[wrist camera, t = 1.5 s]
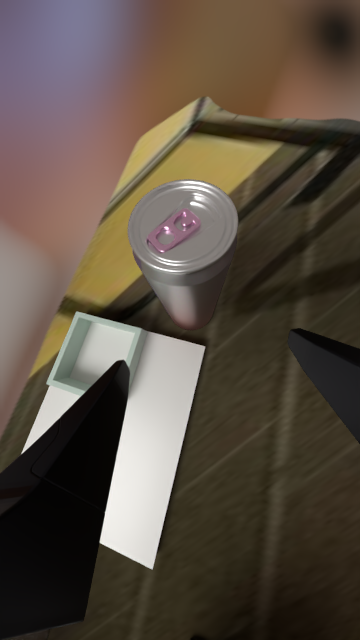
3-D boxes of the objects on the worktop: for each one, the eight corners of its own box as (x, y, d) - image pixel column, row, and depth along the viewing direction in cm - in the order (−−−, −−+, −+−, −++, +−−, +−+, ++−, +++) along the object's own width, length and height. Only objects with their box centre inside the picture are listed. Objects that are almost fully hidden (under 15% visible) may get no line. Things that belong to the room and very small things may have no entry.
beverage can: (161, 308, 23) (102, 221, 9) (193, 282, 24) (188, 158, 9) (188, 340, 22) (171, 300, 7) (222, 312, 22) (270, 221, 8)
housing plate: (155, 555, 17) (144, 608, 13) (16, 486, 20) (-25, 514, 16) (204, 347, 21) (206, 344, 18) (85, 315, 24) (65, 307, 20)
